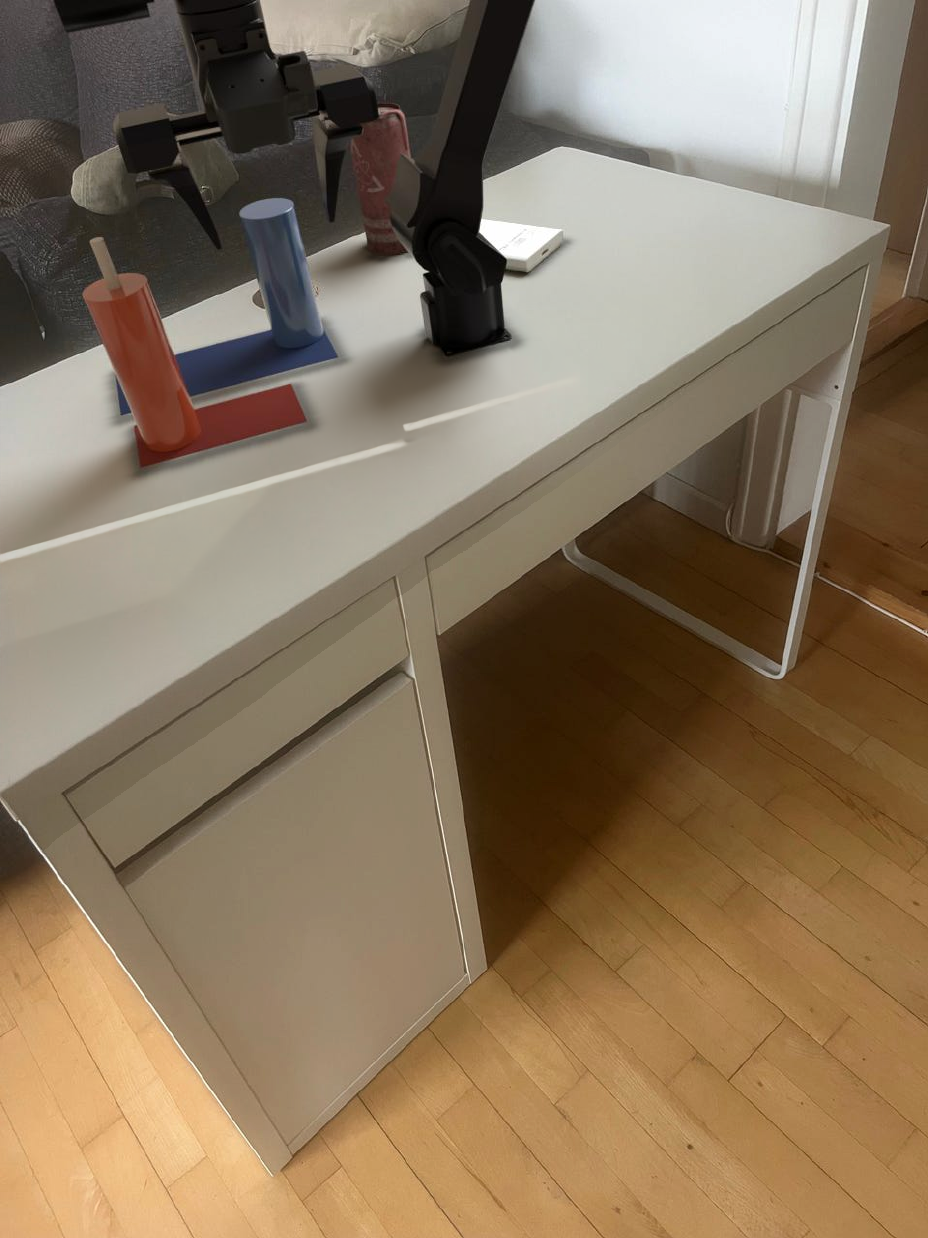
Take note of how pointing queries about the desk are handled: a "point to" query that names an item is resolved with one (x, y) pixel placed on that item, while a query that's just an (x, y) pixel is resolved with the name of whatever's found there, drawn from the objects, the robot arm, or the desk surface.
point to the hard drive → (521, 242)
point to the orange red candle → (141, 355)
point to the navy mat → (241, 362)
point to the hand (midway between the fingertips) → (275, 234)
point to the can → (379, 175)
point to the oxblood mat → (234, 422)
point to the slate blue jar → (282, 271)
